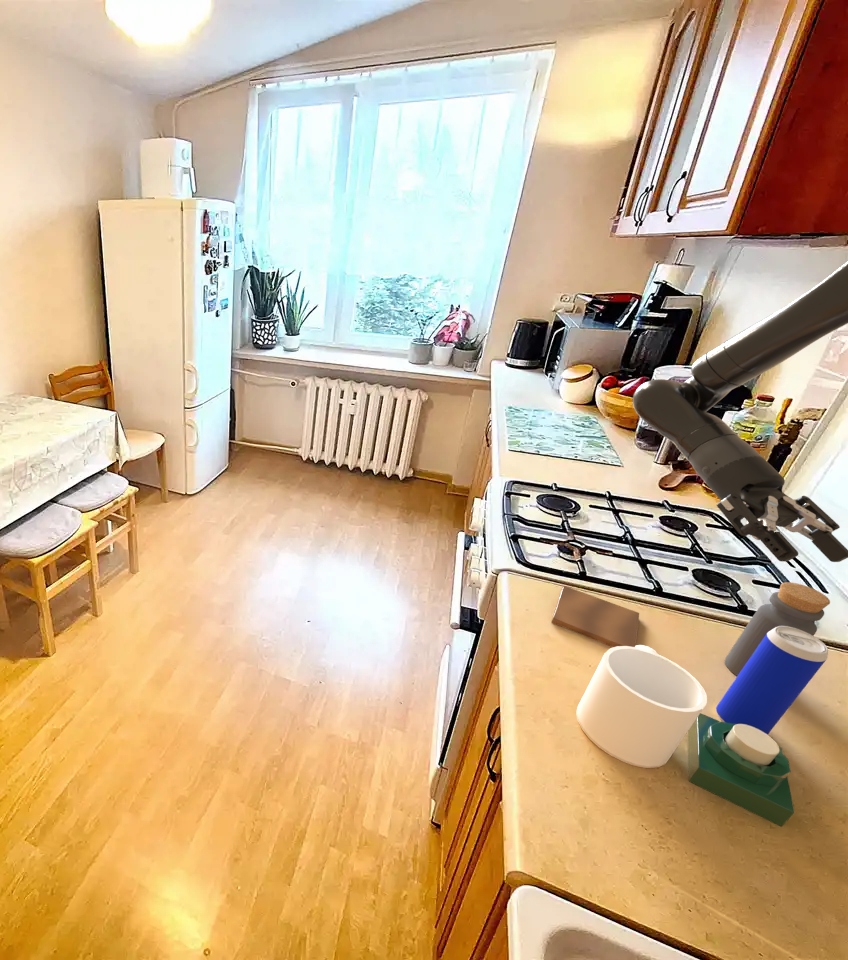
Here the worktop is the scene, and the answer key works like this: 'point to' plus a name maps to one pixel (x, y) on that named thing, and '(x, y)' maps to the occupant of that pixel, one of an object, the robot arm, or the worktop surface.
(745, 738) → the cream disc
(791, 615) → the bottle
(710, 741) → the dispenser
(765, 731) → the beverage can
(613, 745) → the mug
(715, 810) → the worktop surface
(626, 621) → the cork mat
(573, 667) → the worktop surface
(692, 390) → the robot arm
